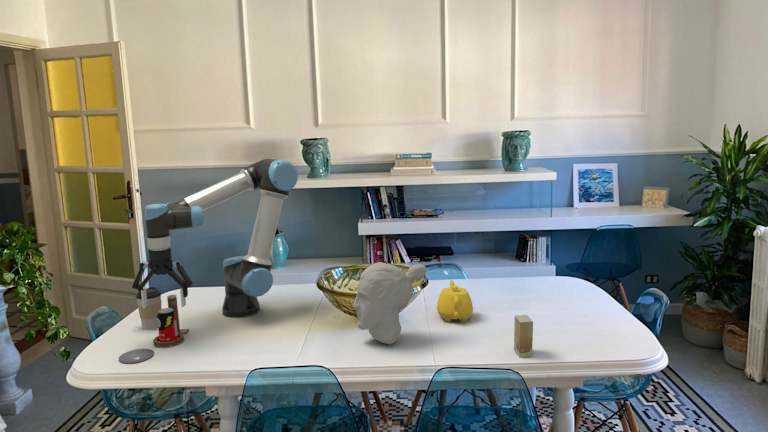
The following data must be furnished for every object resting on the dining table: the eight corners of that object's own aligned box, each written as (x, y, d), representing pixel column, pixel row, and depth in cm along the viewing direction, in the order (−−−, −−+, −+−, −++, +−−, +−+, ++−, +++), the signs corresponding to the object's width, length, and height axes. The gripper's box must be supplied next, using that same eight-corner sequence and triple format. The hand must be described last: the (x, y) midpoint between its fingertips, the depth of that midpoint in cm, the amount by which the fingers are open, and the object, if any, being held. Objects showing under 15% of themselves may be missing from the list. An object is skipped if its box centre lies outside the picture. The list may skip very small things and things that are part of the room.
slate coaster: (158, 349, 196) (158, 347, 196) (147, 363, 185) (147, 361, 185) (126, 351, 195) (126, 349, 195) (113, 364, 185) (113, 363, 184)
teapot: (438, 326, 210) (438, 293, 207) (435, 308, 229) (434, 278, 227) (475, 325, 209) (475, 292, 207) (469, 307, 229) (468, 277, 227)
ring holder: (191, 330, 213) (188, 293, 210) (179, 346, 198) (175, 306, 195) (164, 331, 212) (160, 294, 210) (149, 348, 197) (145, 308, 195)
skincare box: (513, 350, 186) (513, 314, 184) (526, 349, 187) (526, 314, 185) (519, 358, 180) (520, 321, 178) (532, 357, 180) (533, 321, 178)
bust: (352, 335, 203) (349, 260, 199) (422, 328, 208) (421, 255, 203) (357, 351, 189) (354, 271, 184) (432, 344, 193) (431, 265, 188)
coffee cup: (155, 331, 213) (151, 293, 211) (134, 330, 215) (130, 292, 212) (169, 322, 222) (165, 286, 219) (148, 321, 224) (144, 285, 221)
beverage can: (164, 338, 206) (160, 307, 204) (181, 338, 205) (178, 307, 203) (156, 345, 199) (153, 313, 197) (174, 345, 199) (171, 313, 197)
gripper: (198, 244, 201) (202, 301, 204) (127, 247, 199) (132, 304, 203) (192, 249, 193) (197, 308, 197) (118, 251, 192) (124, 311, 196)
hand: (164, 306), depth 200 cm, fingers open, 13 cm apart
